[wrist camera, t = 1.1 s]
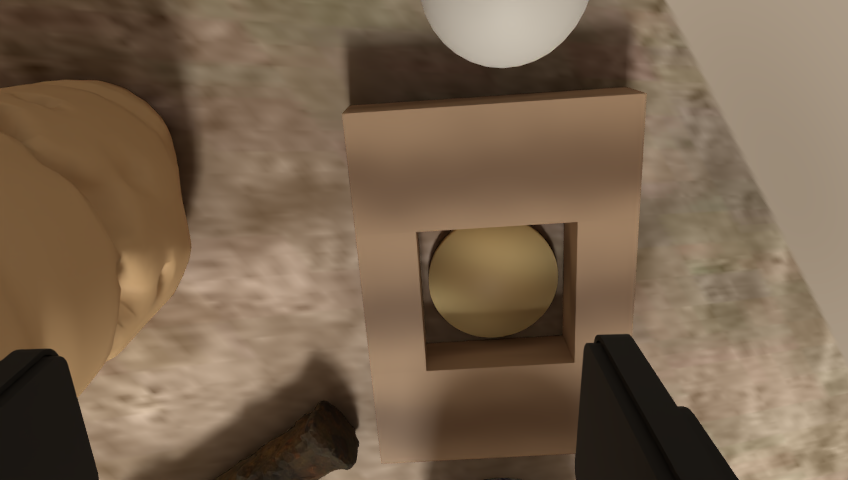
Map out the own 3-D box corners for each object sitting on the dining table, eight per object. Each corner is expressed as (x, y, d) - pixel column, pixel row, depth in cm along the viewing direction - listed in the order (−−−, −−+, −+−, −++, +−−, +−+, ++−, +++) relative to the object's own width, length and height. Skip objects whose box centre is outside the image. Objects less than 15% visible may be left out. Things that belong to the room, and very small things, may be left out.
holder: (349, 105, 30) (341, 113, 28) (625, 86, 30) (646, 93, 27) (384, 430, 37) (381, 463, 34) (609, 418, 37) (625, 450, 34)
